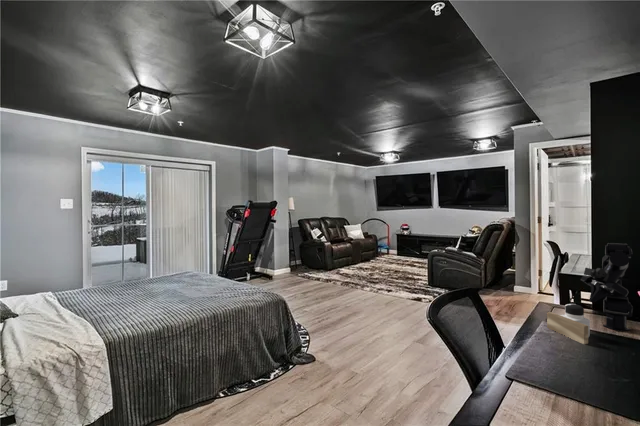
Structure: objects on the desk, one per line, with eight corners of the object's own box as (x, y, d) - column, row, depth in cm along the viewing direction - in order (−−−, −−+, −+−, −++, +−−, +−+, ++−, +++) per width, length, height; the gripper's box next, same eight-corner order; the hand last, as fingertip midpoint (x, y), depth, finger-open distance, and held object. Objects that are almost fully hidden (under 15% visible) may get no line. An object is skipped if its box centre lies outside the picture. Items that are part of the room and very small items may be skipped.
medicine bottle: (590, 336, 128) (590, 307, 128) (575, 338, 127) (575, 308, 127) (573, 330, 135) (573, 302, 135) (558, 331, 134) (559, 303, 134)
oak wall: (551, 328, 137) (551, 312, 137) (588, 343, 122) (588, 325, 121) (547, 328, 137) (547, 312, 137) (583, 344, 121) (583, 326, 121)
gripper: (580, 257, 142) (559, 285, 143) (613, 262, 124) (589, 295, 125) (603, 272, 141) (582, 300, 142) (639, 279, 123) (615, 312, 123)
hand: (590, 301), depth 133 cm, fingers closed
